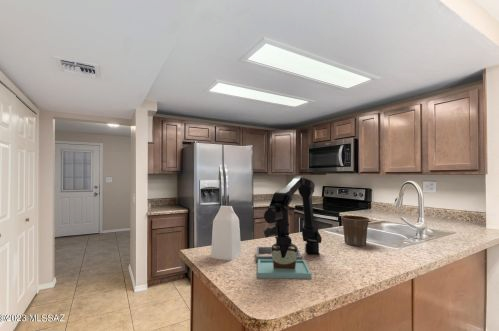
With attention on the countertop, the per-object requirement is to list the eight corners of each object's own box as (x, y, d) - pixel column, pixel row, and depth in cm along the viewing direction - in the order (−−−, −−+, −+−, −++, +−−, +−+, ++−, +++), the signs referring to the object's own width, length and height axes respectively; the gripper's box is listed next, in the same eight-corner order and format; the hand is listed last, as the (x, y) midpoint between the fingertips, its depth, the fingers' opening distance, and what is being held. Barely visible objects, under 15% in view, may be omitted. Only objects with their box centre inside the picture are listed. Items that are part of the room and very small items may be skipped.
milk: (211, 257, 131) (211, 207, 132) (221, 251, 141) (221, 204, 142) (232, 260, 126) (232, 207, 128) (241, 253, 137) (240, 205, 138)
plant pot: (375, 244, 154) (374, 217, 155) (360, 249, 144) (359, 220, 145) (351, 239, 167) (350, 214, 168) (336, 243, 158) (335, 216, 158)
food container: (297, 262, 117) (297, 241, 115) (298, 269, 111) (298, 248, 109) (270, 261, 118) (270, 241, 116) (270, 268, 112) (270, 247, 110)
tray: (304, 264, 120) (304, 259, 120) (311, 278, 103) (311, 273, 103) (258, 263, 122) (258, 259, 122) (257, 277, 105) (257, 272, 105)
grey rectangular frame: (297, 252, 138) (297, 247, 138) (302, 263, 121) (302, 257, 122) (257, 252, 140) (257, 246, 140) (256, 262, 123) (256, 256, 123)
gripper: (264, 216, 123) (264, 249, 123) (264, 224, 105) (264, 262, 104) (287, 216, 123) (287, 249, 122) (291, 224, 104) (291, 262, 103)
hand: (282, 255), depth 113 cm, fingers closed on food container, 6 cm apart
